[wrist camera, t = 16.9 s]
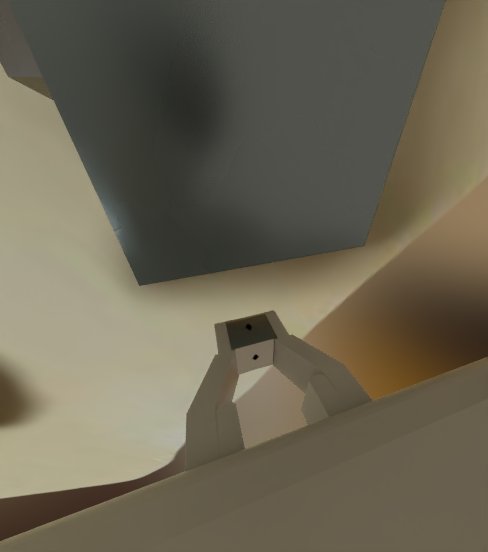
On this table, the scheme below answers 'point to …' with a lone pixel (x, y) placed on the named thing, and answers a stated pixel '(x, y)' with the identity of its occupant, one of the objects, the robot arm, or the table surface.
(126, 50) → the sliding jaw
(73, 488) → the table surface
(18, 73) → the vise
